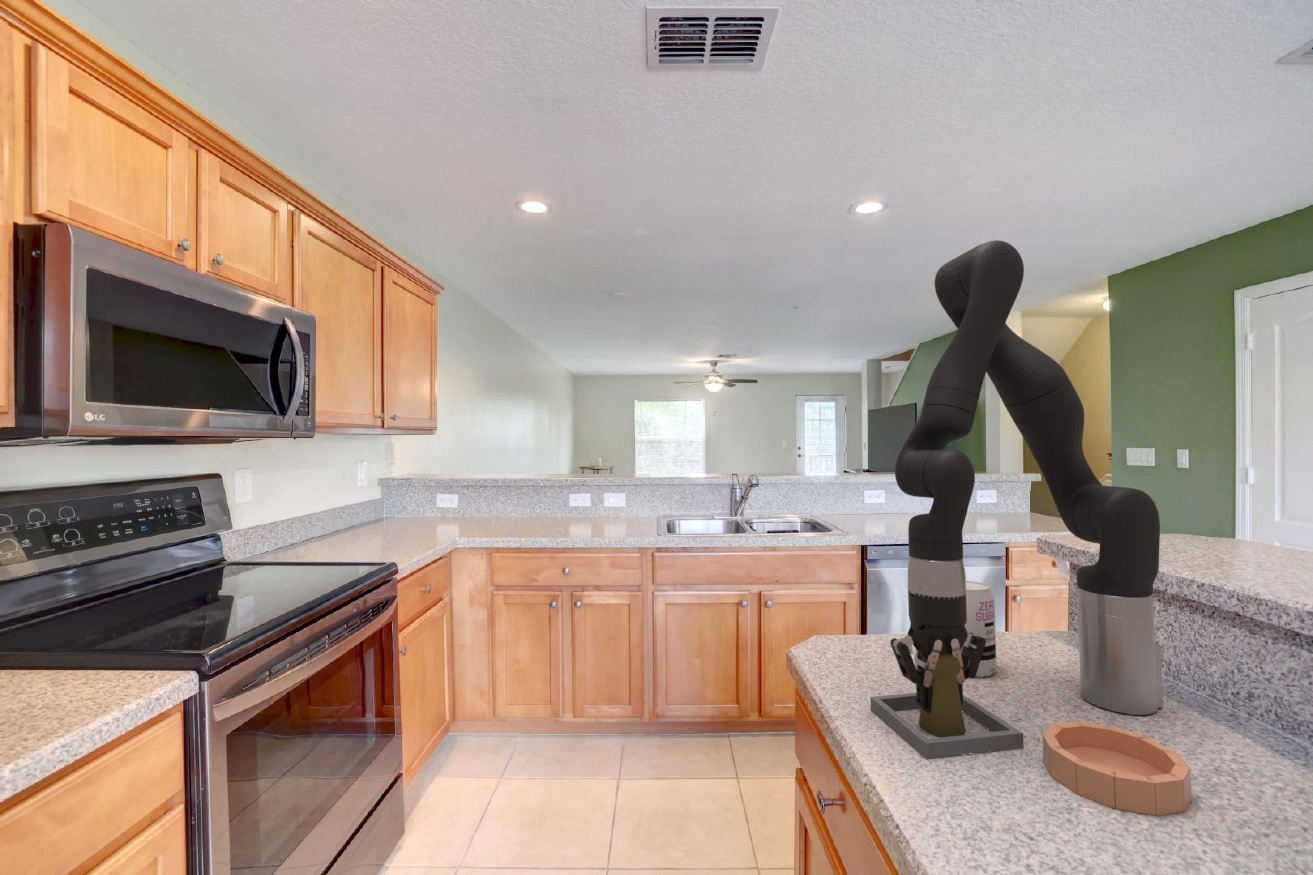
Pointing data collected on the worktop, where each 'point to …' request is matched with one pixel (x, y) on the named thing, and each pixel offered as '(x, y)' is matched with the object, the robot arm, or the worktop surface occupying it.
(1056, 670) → the worktop surface
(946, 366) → the robot arm
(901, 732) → the rectangular frame
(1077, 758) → the bowl
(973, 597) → the supplement can
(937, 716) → the olive pestle
